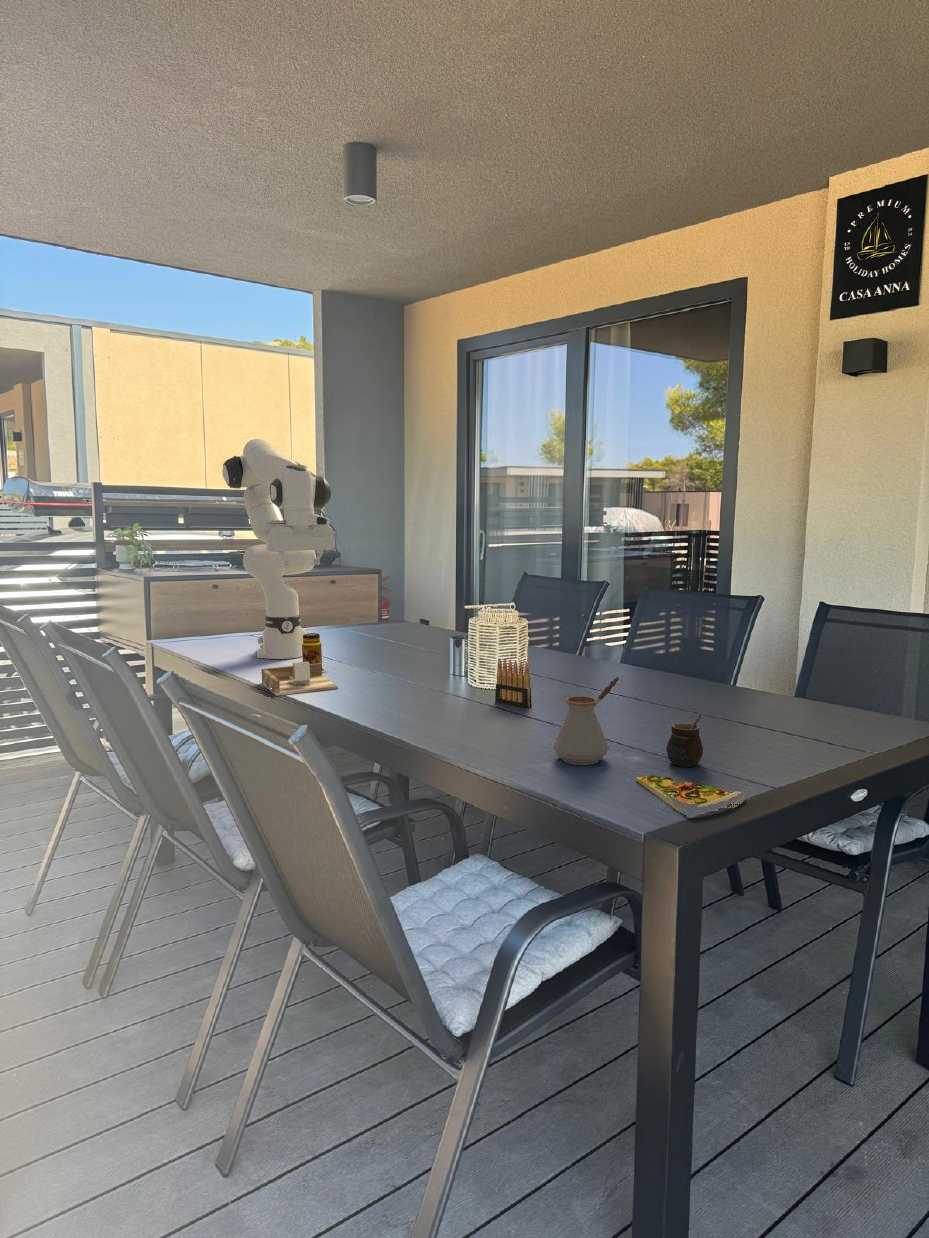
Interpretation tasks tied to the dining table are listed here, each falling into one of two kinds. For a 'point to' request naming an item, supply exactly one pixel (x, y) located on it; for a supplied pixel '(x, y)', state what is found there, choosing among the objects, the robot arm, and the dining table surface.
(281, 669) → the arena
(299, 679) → the bracket
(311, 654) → the condiment
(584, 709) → the coffee pot
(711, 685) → the dining table surface
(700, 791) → the pizza slice
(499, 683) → the ammunition clip
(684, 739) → the mate gourd
